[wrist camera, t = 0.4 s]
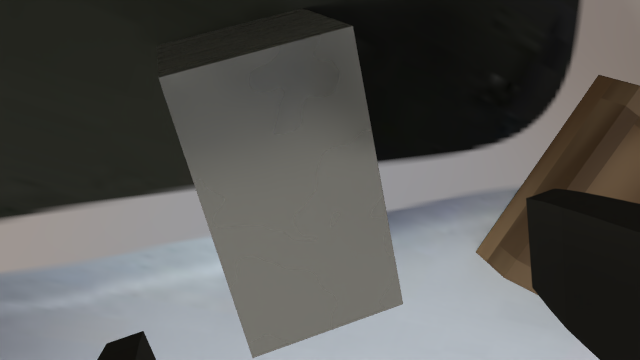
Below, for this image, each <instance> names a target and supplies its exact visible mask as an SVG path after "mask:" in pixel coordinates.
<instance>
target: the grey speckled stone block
mask: <svg viewBox="0 0 640 360" xmlns="http://www.w3.org/2000/svg"><path fill="white" fill-rule="evenodd" d="M157 57H158V76H159V81H160V84H161V87H162V89H163V92H164V95H165V98H166V101H167V104H168V107H169V110H170V113H171V116H172V119H173V122H174V125H175V128H176V131H177V134H178V137H179V140H180V143H181V146H182V149H183V152H184V155H185V158H186V161H187V164H188V167H189V170H190V173H191V176H192V179H193V182H194V185H195V188H196V191H197V194H198V196H199V200H200V202H201V206H202V208H203V211H204V214H205V217H206V220H207V223H208V226H209V229H210V232H211V235H212V238H213V241H214V244H215V247H216V250H217V253H218V256H219V259H220V262H221V265H222V268H223V271H224V274H225V277H226V280H227V283H228V286H229V289H230V292H231V295H232V298H233V301H234V304H235V307H236V310H237V313H238V316H239V319H240V322H241V325H242V328H243V331H244V334H245V337H246V339H247V342H248V345H249V348H250V351H251V354H252V357H253V358H254V357H257V356H260V355H262V354H265V353H268V352H271V351H274V350H276V349H279V348H282V347H285V346H288V345H290V344H293V343H296V342H299V341H301V340H304V339H307V338H310V337H313V336H315V335H318V334H321V333H324V332H326V331H329V330H332V329H335V328H338V327H340V326H343V325H346V324H349V323H352V322H354V321H357V320H360V319H363V318H365V317H368V316H371V315H374V314H377V313H379V312H382V311H385V310H388V309H391V308H393V307H396V306H399V305H402V304H403V301H402V295H401V290H400V284H399V279H398V273H397V268H396V262H395V257H394V251H393V246H392V240H391V235H390V229H389V223H388V218H387V212H386V207H385V202H384V196H383V190H382V185H381V179H380V174H379V168H378V163H377V157H376V152H375V146H374V141H373V135H372V129H371V124H370V118H369V113H368V107H367V102H366V96H365V91H364V85H363V80H362V74H361V69H360V63H359V58H358V52H357V46H356V41H355V35H354V30H353V26H352V25H349V24H346V23H343V22H340V21H337V20H334V19H332V18H329V17H326V16H323V15H320V14H317V13H314V12H311V11H309V10H306V9H303V8H301V9H297V10H293V11H290V12H286V13H282V14H278V15H274V16H270V17H266V18H262V19H258V20H255V21H251V22H247V23H243V24H239V25H235V26H231V27H227V28H224V29H220V30H216V31H212V32H208V33H204V34H200V35H196V36H192V37H189V38H185V39H181V40H177V41H173V42H169V43H165V44H161V45H158V46H157Z"/></svg>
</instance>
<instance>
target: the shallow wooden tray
mask: <svg viewBox="0 0 640 360" xmlns="http://www.w3.org/2000/svg"><path fill="white" fill-rule="evenodd" d="M554 188H556V189H565V190H572V191H579V192H584V193H590V194H595V195H600V196H605V197H610V198H615V199H620V200H624V201H629V202H634V203H639V204H640V86H639V85H635V84H631V83H628V82H624V81H620V80H616V79H612V78H609V77H605V76H601V75H598V77H597V78H596V79H595V81H594V82H593V84H592V85H591V87H590V88H589V90H588V91H587V93H586V94H585V95H584V97H583V98H582V100H581V101H580V103H579V104H578V105H577V107H576V108H575V110H574V111H573V113H572V114H571V116H570V117H569V118H568V120H567V121H566V123H565V124H564V126H563V127H562V128H561V130H560V131H559V133H558V134H557V136H556V137H555V139H554V140H553V141H552V143H551V144H550V146H549V147H548V149H547V150H546V152H545V153H544V154H543V156H542V157H541V159H540V160H539V162H538V163H537V164H536V166H535V167H534V169H533V170H532V172H531V173H530V175H529V176H528V178H527V179H526V180H525V182H524V183H523V185H522V186H521V187H520V189H519V190H518V192H517V193H516V195H515V196H514V198H513V199H512V200H511V202H510V203H509V205H508V206H507V208H506V209H505V210H504V212H503V213H502V215H501V216H500V218H499V219H498V221H497V222H496V223H495V225H494V226H493V228H492V229H491V231H490V232H489V233H488V235H487V236H486V238H485V239H484V241H483V242H482V244H481V245H480V246H479V248H478V249H477V251H476V253H477V254H479V255H480V256H481V257H482V258H483V259H484V260H485V261H486V262H487V263H488V264H490V265H491V266H492V267H493V268H494V269H495V270H496V271H497V272H498V273H499V274H501V275H502V276H503V277H504V278H506V279H508V280H510V281H512V282H514V283H516V284H518V285H520V286H522V287H524V288H526V289H527V290H529V291H531V292H533V293H535V294H537V293H536V291H535V290H534V289H533V288H532V276H531V262H530V248H529V233H528V219H527V205H526V198H528V197H531V196H534V195H537V194H540V193H543V192H546V191H549V190H551V189H554ZM537 295H538V294H537Z"/></svg>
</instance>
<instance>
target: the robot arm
mask: <svg viewBox="0 0 640 360" xmlns="http://www.w3.org/2000/svg"><path fill="white" fill-rule="evenodd" d="M526 205H527V219H528V233H529V248H530V262H531V276H532V288H533V289H534V290H535V291H536V293H537V294H538V295H539V296H540V298H541V299H542V300H543V301H544V303H545V304H546V305H547V306H548V308H549V309H550V310H551V311H552V312H553V313H554V315H555V316H556V317H557V318H558V319H559V320H560V322H561V323H562V324H563V325H564V326H565V327H566V328H567V329H568V330H569V331H570V332H571V333H572V334H573V335H574V336H575V337H576V338H577V339H578V340H579V341H580V342H581V343H582V344H584V345H585V346H586V347H587V348H588V349H589V350H590V351H591V352H592V353H593V354H594V355H595V356H596V357H598V358H599V359H600V360H640V204H639V203H634V202H629V201H624V200H620V199H615V198H610V197H605V196H600V195H595V194H590V193H584V192H579V191H572V190H565V189H556V188H554V189H551V190H549V191H546V192H543V193H540V194H537V195H534V196H531V197H528V198H526ZM97 360H156V359H155V356H154V354H153V352H152V350H151V347H150V345H149V343H148V341H147V338H146V336H145V334H144V331H142V332H139V333H136V334H133V335H130V336H127V337H125V338H122V339H119V340H116V341H113V342H110V343H107V344H106V346H105V347H104V349H103V351H102V352H101V354H100V356H99V358H98V359H97Z"/></svg>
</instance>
